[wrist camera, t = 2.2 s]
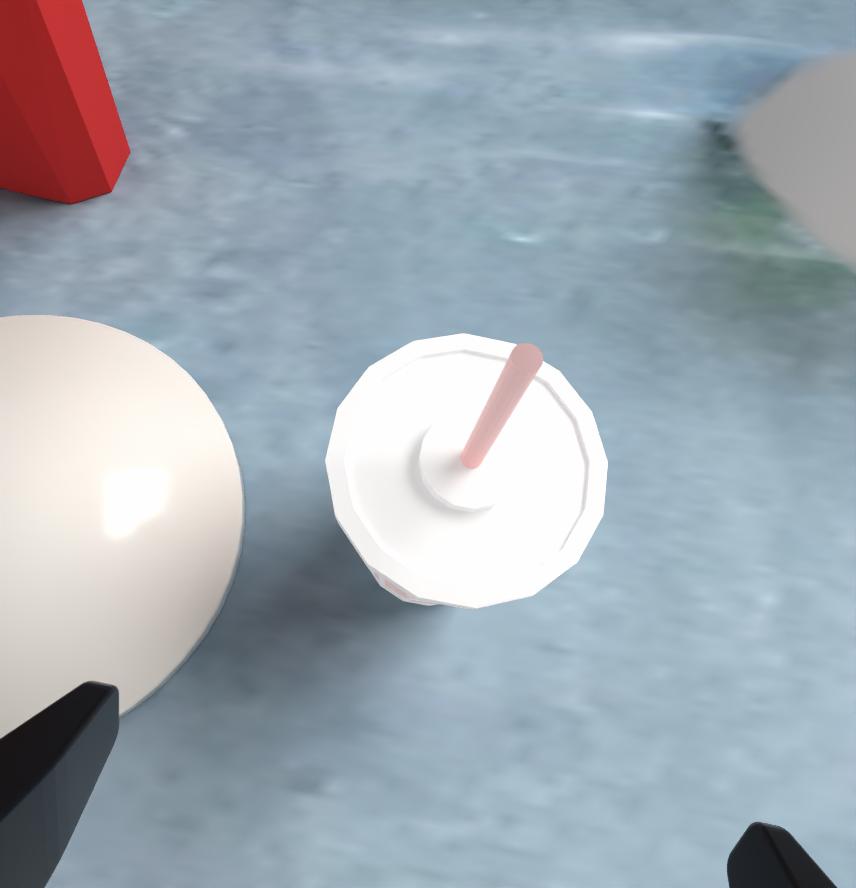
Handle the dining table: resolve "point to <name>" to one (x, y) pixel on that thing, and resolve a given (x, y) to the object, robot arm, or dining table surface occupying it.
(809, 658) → the dining table surface
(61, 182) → the french fries
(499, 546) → the beverage cup
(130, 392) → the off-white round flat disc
